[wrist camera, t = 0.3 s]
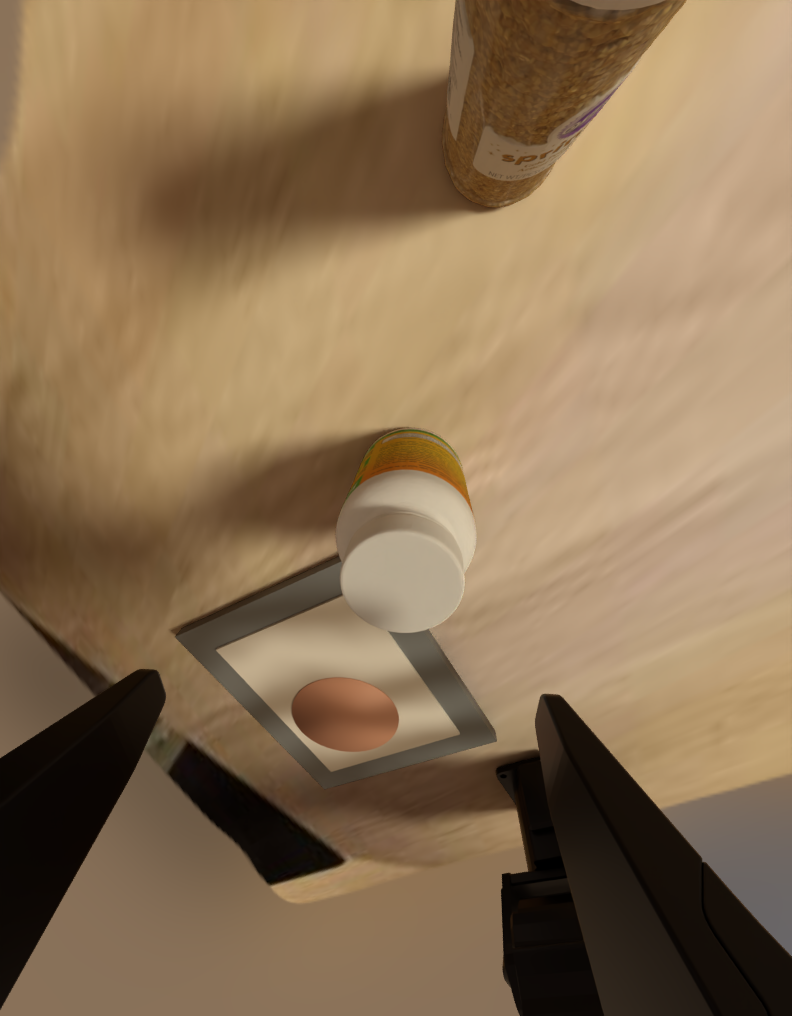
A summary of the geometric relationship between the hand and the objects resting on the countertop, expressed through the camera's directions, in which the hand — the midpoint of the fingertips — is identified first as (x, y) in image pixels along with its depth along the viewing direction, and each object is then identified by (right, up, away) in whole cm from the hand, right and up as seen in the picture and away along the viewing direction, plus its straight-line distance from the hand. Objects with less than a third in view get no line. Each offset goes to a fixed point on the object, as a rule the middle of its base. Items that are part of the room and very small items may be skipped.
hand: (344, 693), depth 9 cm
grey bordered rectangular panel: (-2, -8, +19) cm, 21 cm away
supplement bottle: (+2, +6, +12) cm, 14 cm away
